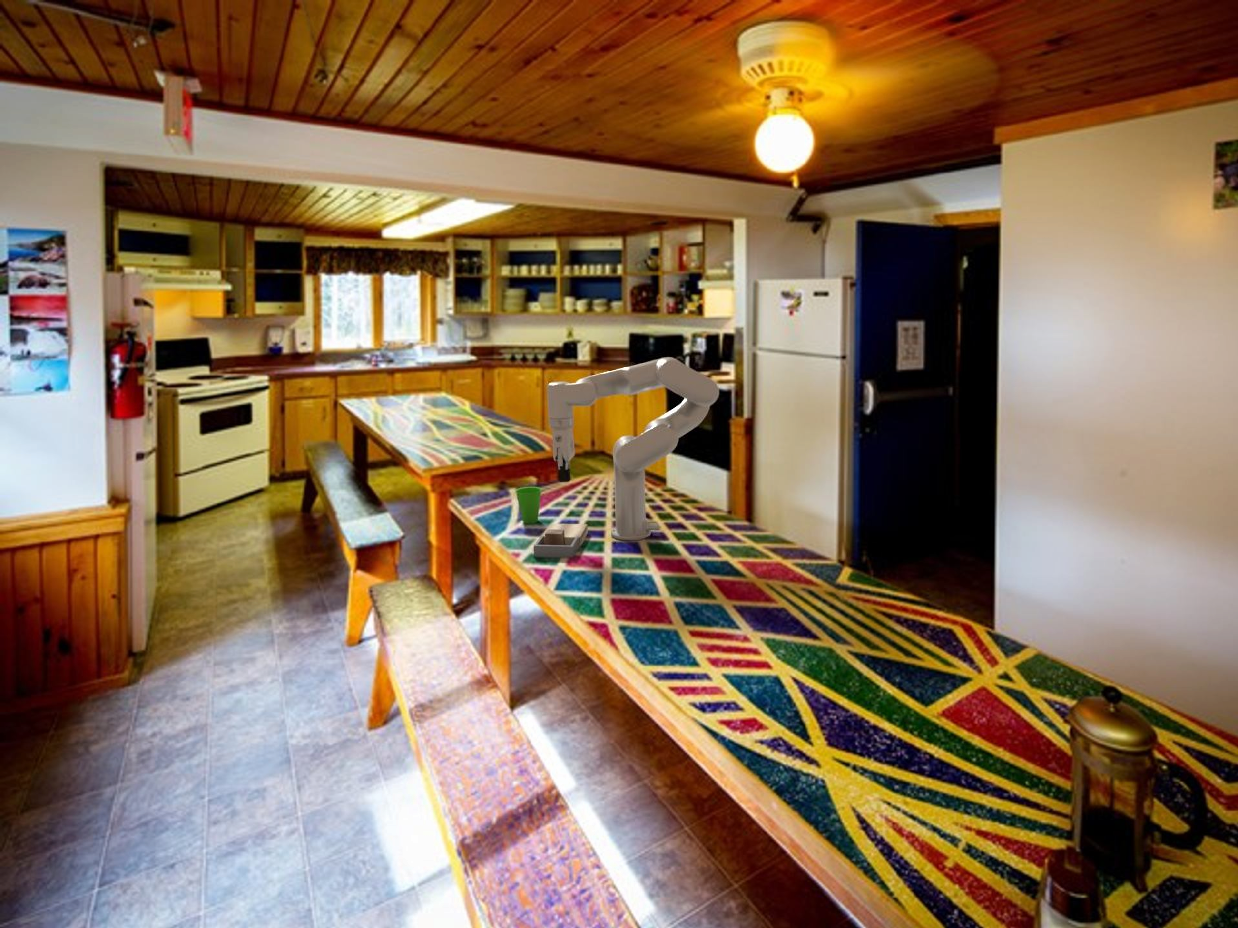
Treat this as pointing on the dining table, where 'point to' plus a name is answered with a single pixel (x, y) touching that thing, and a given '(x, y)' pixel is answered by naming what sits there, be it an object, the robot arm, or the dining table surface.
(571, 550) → the bin
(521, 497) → the cup
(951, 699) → the dining table surface
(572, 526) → the board
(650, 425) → the robot arm
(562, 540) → the block
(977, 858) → the dining table surface
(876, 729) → the dining table surface
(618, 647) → the dining table surface
